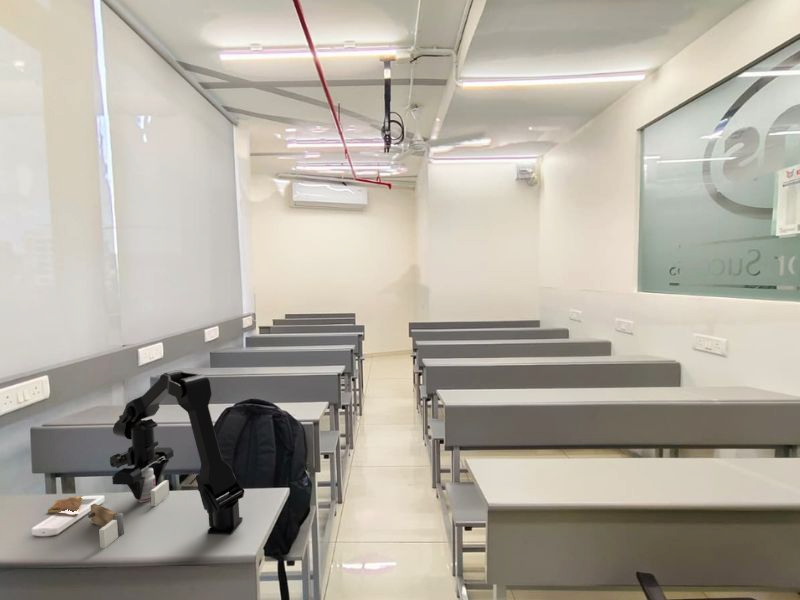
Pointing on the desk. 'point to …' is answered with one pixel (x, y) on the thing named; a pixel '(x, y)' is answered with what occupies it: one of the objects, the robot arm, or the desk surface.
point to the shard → (66, 505)
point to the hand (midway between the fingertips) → (146, 492)
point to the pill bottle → (147, 484)
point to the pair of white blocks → (116, 525)
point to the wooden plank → (101, 515)
